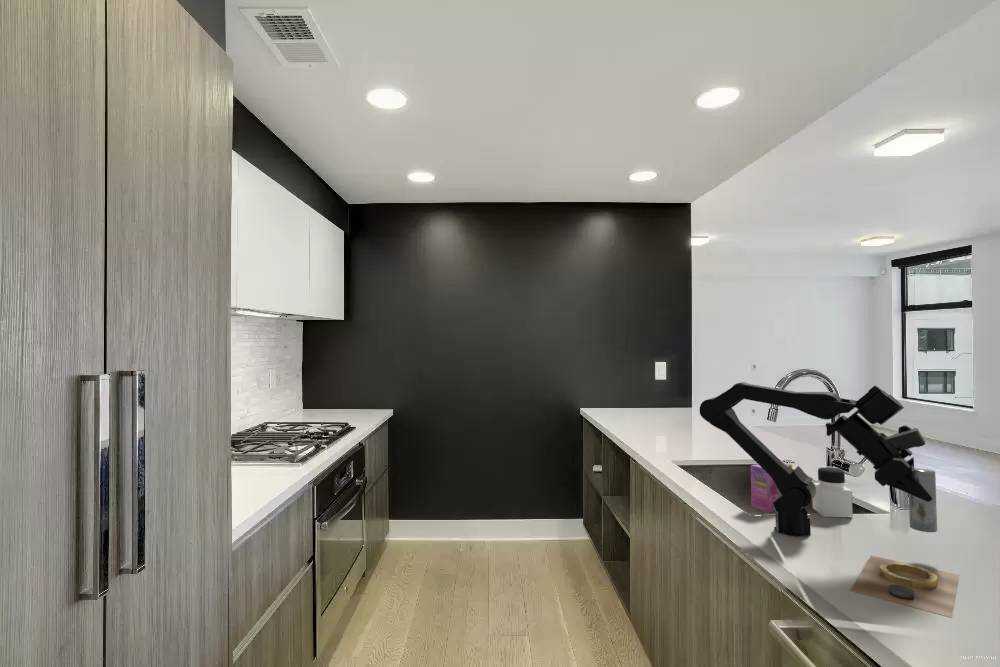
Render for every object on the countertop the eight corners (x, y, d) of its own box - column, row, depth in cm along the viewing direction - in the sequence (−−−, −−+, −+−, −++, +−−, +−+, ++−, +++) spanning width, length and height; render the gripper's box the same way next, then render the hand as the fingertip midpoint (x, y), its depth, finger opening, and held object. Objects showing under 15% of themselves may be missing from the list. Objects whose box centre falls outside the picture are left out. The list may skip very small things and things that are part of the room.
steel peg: (915, 531, 107) (913, 472, 107) (905, 523, 111) (903, 467, 112) (941, 533, 106) (939, 473, 106) (930, 525, 110) (928, 468, 110)
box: (769, 513, 140) (768, 468, 140) (750, 507, 145) (749, 464, 146) (794, 506, 145) (792, 464, 145) (774, 501, 150) (773, 460, 150)
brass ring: (891, 585, 97) (891, 578, 97) (873, 566, 105) (873, 560, 105) (946, 591, 94) (946, 584, 94) (923, 571, 102) (923, 564, 102)
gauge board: (951, 622, 85) (951, 611, 85) (850, 594, 95) (849, 584, 95) (959, 579, 100) (959, 569, 100) (871, 559, 110) (870, 550, 110)
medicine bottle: (853, 518, 135) (852, 471, 135) (822, 517, 136) (821, 470, 137) (841, 509, 142) (839, 465, 142) (812, 508, 143) (811, 464, 144)
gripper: (893, 419, 104) (969, 484, 97) (898, 409, 119) (964, 465, 111) (847, 454, 109) (916, 518, 102) (857, 440, 124) (918, 495, 116)
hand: (930, 497), depth 108 cm, fingers closed on steel peg, 4 cm apart
